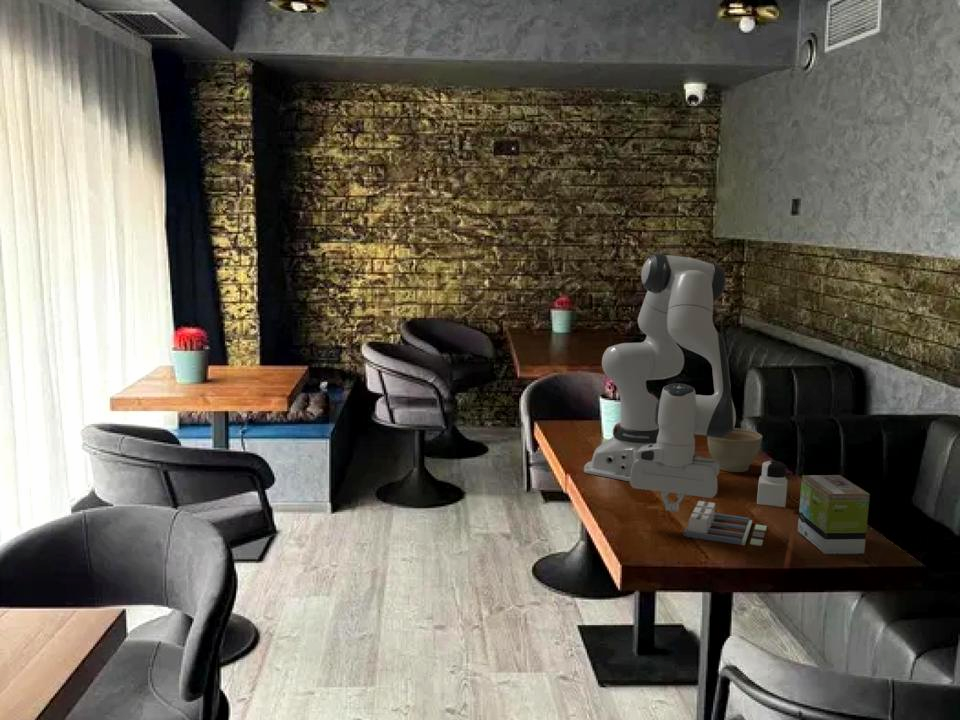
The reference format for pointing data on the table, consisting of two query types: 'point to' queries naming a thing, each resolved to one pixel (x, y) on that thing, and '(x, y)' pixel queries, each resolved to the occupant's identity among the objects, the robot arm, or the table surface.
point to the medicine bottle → (772, 484)
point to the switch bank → (729, 539)
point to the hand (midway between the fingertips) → (671, 510)
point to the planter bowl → (735, 449)
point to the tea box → (833, 514)
